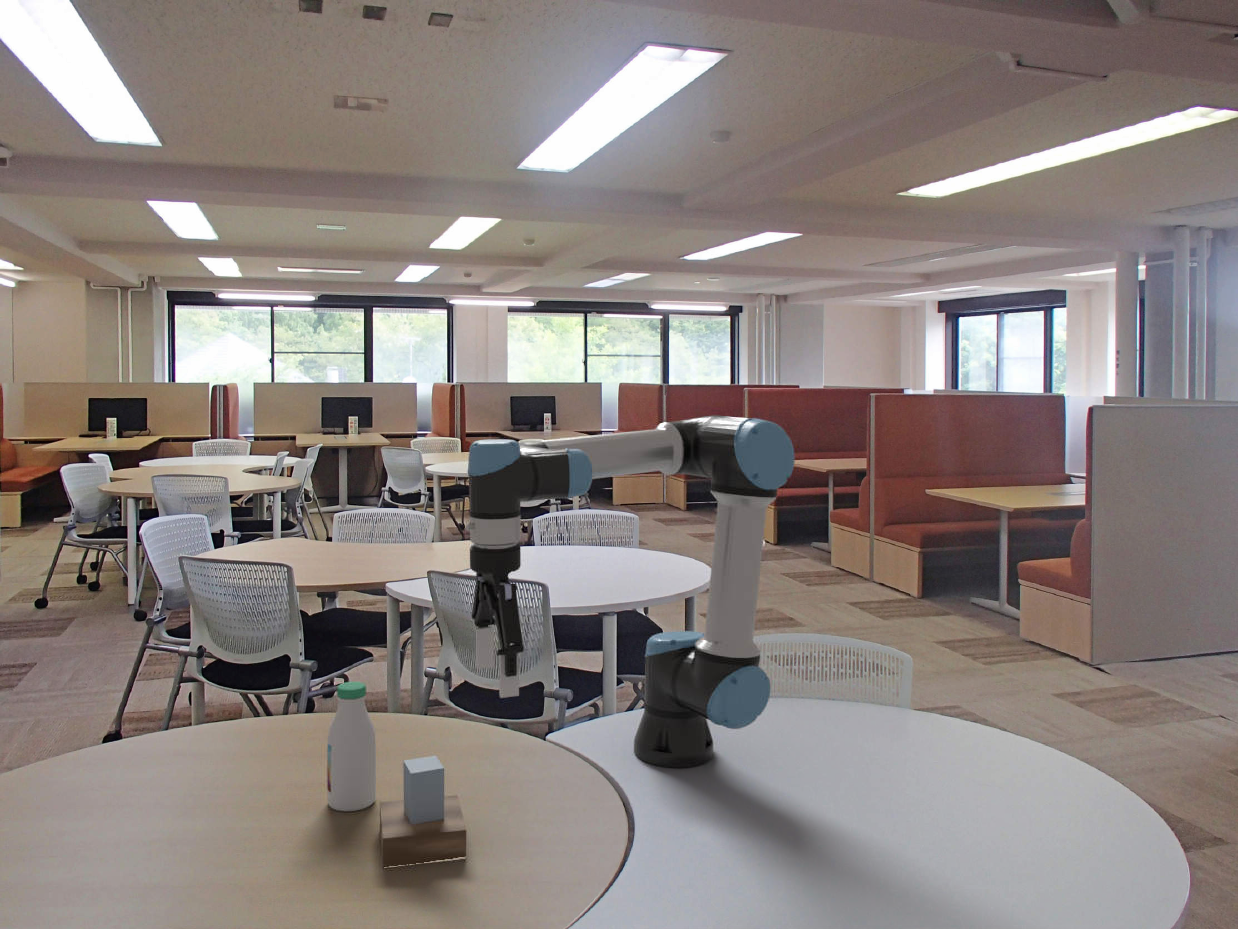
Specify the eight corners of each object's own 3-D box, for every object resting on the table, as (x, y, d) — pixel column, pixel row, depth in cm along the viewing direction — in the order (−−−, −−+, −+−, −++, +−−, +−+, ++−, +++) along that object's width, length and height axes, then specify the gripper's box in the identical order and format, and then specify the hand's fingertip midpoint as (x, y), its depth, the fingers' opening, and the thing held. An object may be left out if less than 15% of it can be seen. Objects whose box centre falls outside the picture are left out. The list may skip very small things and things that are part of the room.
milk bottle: (385, 798, 165) (385, 682, 163) (354, 817, 158) (354, 696, 156) (348, 788, 168) (348, 675, 166) (317, 806, 161) (316, 688, 159)
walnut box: (379, 833, 154) (379, 802, 153) (457, 825, 157) (457, 795, 156) (382, 871, 142) (382, 838, 142) (466, 862, 146) (466, 830, 145)
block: (403, 810, 151) (403, 760, 150) (436, 805, 153) (435, 755, 152) (411, 825, 146) (410, 773, 145) (444, 819, 148) (444, 768, 147)
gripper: (451, 530, 157) (453, 660, 159) (492, 562, 134) (494, 713, 136) (497, 527, 159) (498, 654, 162) (545, 558, 137) (546, 705, 139)
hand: (496, 681), depth 149 cm, fingers open, 13 cm apart
